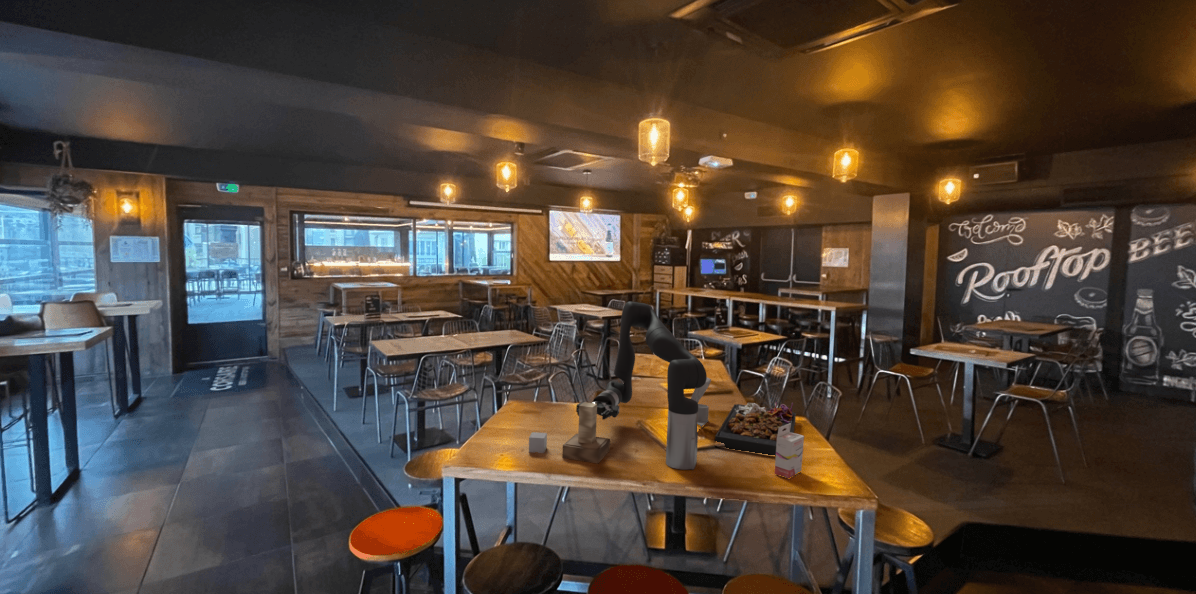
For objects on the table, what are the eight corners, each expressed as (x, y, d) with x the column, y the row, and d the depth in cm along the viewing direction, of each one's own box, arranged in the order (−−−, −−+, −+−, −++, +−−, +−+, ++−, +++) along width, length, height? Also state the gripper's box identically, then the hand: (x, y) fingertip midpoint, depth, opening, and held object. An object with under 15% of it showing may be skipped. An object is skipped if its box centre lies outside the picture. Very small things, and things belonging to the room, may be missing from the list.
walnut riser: (609, 450, 172) (610, 437, 171) (598, 463, 160) (598, 450, 160) (575, 445, 176) (576, 432, 175) (562, 457, 164) (562, 444, 164)
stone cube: (546, 447, 173) (547, 433, 172) (543, 453, 168) (544, 438, 167) (531, 446, 173) (532, 432, 173) (528, 452, 168) (529, 437, 168)
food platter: (733, 414, 220) (734, 390, 219) (795, 423, 211) (796, 398, 210) (714, 448, 179) (715, 419, 178) (789, 461, 169) (791, 431, 168)
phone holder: (685, 416, 213) (687, 373, 212) (709, 420, 208) (712, 376, 207) (671, 428, 197) (673, 381, 196) (697, 432, 193) (699, 385, 191)
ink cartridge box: (789, 480, 153) (792, 431, 152) (773, 475, 156) (776, 427, 155) (802, 472, 159) (805, 426, 158) (786, 467, 162) (789, 422, 161)
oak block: (595, 439, 169) (597, 403, 168) (591, 444, 165) (592, 407, 164) (583, 437, 171) (584, 402, 170) (578, 442, 166) (579, 405, 165)
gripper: (587, 390, 188) (571, 401, 172) (625, 394, 183) (612, 406, 168) (586, 410, 188) (570, 423, 173) (624, 415, 184) (611, 429, 168)
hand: (591, 415), depth 170 cm, fingers open, 8 cm apart
